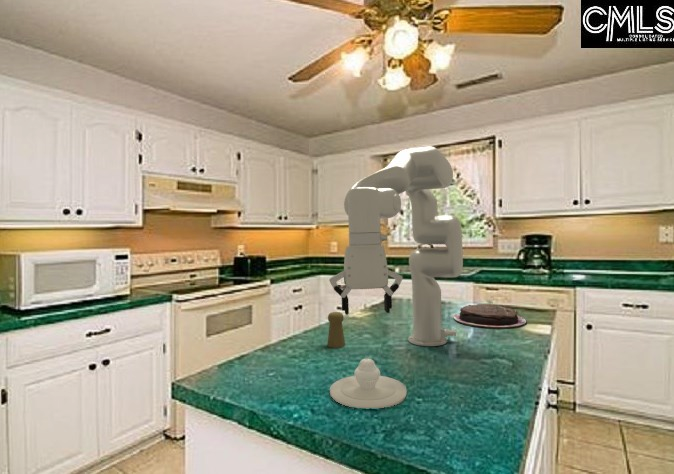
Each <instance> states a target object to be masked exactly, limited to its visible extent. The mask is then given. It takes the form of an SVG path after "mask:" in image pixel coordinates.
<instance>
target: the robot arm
mask: <svg viewBox="0 0 674 474" xmlns="http://www.w3.org/2000/svg"><path fill="white" fill-rule="evenodd" d="M453 179H454V171H453V168H452V165H451V163H450V162H449V160H448V158H447V157H446V156H445V155H444V154H443V153H442V152H441V150H439V149H438V148H437V147H434V146H425V147H417V148H415V147H414V148H408V149H407V148H406V149H404V150H401V151H399V152H398V153H396V154H395V155H394V156H393V158H392V159H391V160H390V162H389V163H387V165H386V166H385V167H384V168H381V169H380V170H378V171H376V172H374V173H372V174H369V175H368V176H365V177H363V178H361V179H360V180H357V182H356V183H354V184H353V185H352V186H351V188H350V189H349V190H348V192H347V193H346V195H345V196H344V197H345V198H344V201H343V206H344V207H343V208H344V212H345V214H346V215H347V216H348V219H347V220H348V246H345V250H344V261H343V262H344V263H343V270H342V271H340V272H339V273H337V274H334V276H332V277H330V278H329V283H330V284H331V287H332V288H333V291H335V292H336V293H337V294H338V295H339V296H340V298H341V311H342V312H344V314H345V315H346V316H348V315H349V314H350V311H349V297H348V295H349V294H350V292H351V290H372V289H374V290H375V289H382V290H384V295H383V298H384V299H383V305H384V306H383V307H384V311H385V312H386V313H387V314H390V312H391V311H390V309H392V307H393V299H392V296H394V294H395V292H396V291H397V290H398V289H399V288H400V285H401V283H402V281H403V279H404V277H403V276H402V275H400V274H398V273H396V272H394V271H393V270H390V269H388V262H387V255H386V250H385V245H383V244H382V243H383V242H385V241H387V240H388V235H387V234H384V233H382V232H381V231H382V229H381V227H382V224H381V219H392V218H394V217H395V216H397V215H398V214H399V212H400V211H401V207H402V199H401V194H403V193H404V192H405V193H406V194H407V196H408V199H409V201H410V204H411V225H412V226H411V227H412V237H413V241H414V242H415V243H417V244H421V245H445V248H444V247H443V248H441V247H440V248H439V247H438V248H435V247H423V248H416V249H414V250H412V251H411V253H410V254H409V257H408V265H409V272H410V276H411V285H412V286H411V289H412V291H411V293H412V334H411V335H410V336H408V341H409V342H410V343H411V344H413V345H416V346H422V347H437V346H443V345H445V344H446V343H447V337H452V336H453V337H456V336H457V331H456V330H455V329H448V328H447V329H444V328H443V326H442V324H443V323H442V321H443V320H442V289H441V287H440V285H439V283H438V282H437V280H436V279H435V278H457V277H459V276H460V275H461V274H462V272H463V268H464V267H463V266H464V263H463V262H464V258H463V232H462V231H463V228H462V223H461V221H460V219H459V218H458V217H457V216H455V215H451V214H449V215H447V214H446V215H445V214H444V215H440V214H439V211H438V200H437V197H436V196H435V194H434V193H433V192H432V191H431V190H437V189H445V188H448V187H450V186H451V184H452V182H453ZM389 277H391V278H393V279H394V281H393V283H392V284H391V286H390V287H389V286H388V285H389ZM342 279H343V283H344V285H345V286H344V287H343V288H341V287H340V286H339V285H338V281H339V280H342Z"/></svg>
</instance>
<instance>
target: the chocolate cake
mask: <svg viewBox="0 0 674 474" xmlns="http://www.w3.org/2000/svg"><path fill="white" fill-rule="evenodd" d="M453 320H454V321H455V322H457V323H459V324H463V325H464V326H466V327H467V326H468V327H475V328H483V329H484V328H485V329H495V330H503V329H505V330H506V329H511V328H515V329H516V328H517V329H518V328H520V327H521V326H524V325H525V324H527V320H526V319H525V318H524V317H522V316H519V315H518V313H517V309H513V308H509V307H508V308H506V307H504V306H501V305H498V304H489V303H488V304H486V303H481V304H480V303H479V304H468V305H466V306H463V307H461V308H460V309H459V313H456V314H454V315H453Z"/></svg>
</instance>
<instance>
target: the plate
mask: <svg viewBox="0 0 674 474" xmlns="http://www.w3.org/2000/svg"><path fill="white" fill-rule="evenodd" d="M329 396H330V398H331V397H332V398H333V399H334V400H335V401H336V402H338V403H340V404H342V405H341V406H343V405H345V406H349V407H356V408H366V409H369V408H384V407H389V408H391V407H390V406H392V407H395V406H398V405H400V404H401V403H403V402H404V401H405V400H406V398H407V387H406V386H405V384H404V383H402V382H401V381H399V380H398V379H394V378H392V377H388V376H385V375H380V376H379V379H378V381H377V383H376V385H375V387H374V389H372V390H364V389H362V388H361V387H360V385H359V384H358V382H357V380H356V377H355V375H352V376H351V375H350V376H346V377H343V378H341V379H338V380H336V381H334V382H333V383H332V384H331V385H330V388H329ZM332 398H331V399H332ZM333 399H332V400H333ZM334 400H333V401H334ZM335 401H334V402H335ZM336 402H335V403H336ZM338 403H337V404H338ZM340 404H339V405H340ZM397 404H398V405H397ZM394 405H395V406H394ZM345 406H344V407H345ZM349 407H348V408H349Z"/></svg>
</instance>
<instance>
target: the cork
mask: <svg viewBox="0 0 674 474" xmlns="http://www.w3.org/2000/svg"><path fill="white" fill-rule="evenodd" d="M327 321H328V322H329V325H328V326H329V328H328V334H327V335H328V336H327V343H326V344H327V345H326V346H327V347H328V348H331V349H339V348H344V347H345V346H346V340H345V334H344V329H343V321H344V314H343V313H342V312H340V311H332V312H330V313H329V314H328V316H327Z"/></svg>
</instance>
